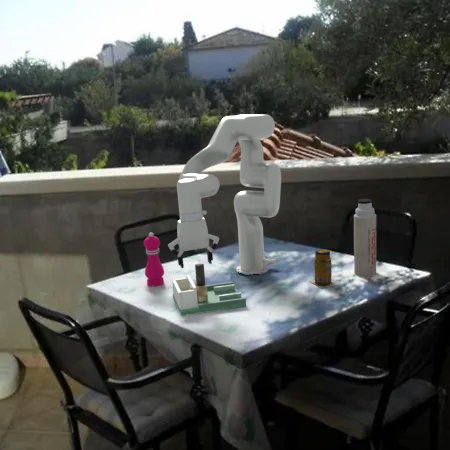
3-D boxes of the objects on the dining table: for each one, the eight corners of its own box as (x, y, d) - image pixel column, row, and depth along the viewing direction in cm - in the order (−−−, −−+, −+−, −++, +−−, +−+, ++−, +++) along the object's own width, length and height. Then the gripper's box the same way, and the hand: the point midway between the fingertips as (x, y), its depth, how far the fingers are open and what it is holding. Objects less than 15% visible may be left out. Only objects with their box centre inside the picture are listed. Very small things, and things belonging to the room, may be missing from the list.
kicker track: (234, 289, 224) (234, 284, 223) (241, 298, 215) (241, 293, 214) (213, 292, 222) (213, 287, 222) (219, 301, 213) (219, 296, 213)
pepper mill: (162, 286, 235) (157, 234, 230) (143, 286, 236) (138, 235, 231) (167, 280, 242) (163, 229, 237) (149, 280, 243) (144, 229, 238)
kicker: (204, 294, 220) (202, 261, 217) (207, 300, 214) (205, 266, 211) (195, 295, 219) (193, 262, 216) (199, 301, 213) (196, 268, 210)
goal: (190, 293, 223) (188, 274, 221) (197, 307, 209) (196, 287, 208) (173, 295, 221) (171, 276, 220) (179, 309, 208) (178, 289, 206)
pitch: (233, 288, 228) (232, 281, 227) (246, 306, 211) (245, 298, 210) (172, 297, 224) (172, 289, 223) (181, 315, 207) (180, 307, 206)
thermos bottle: (380, 273, 234) (380, 199, 227) (363, 278, 231) (363, 203, 224) (366, 268, 241) (366, 196, 234) (349, 272, 237) (349, 199, 231)
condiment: (327, 278, 233) (326, 247, 230) (338, 285, 226) (338, 252, 223) (309, 281, 231) (308, 250, 228) (320, 288, 223) (319, 256, 220)
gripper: (214, 209, 214) (218, 257, 219) (163, 216, 211) (169, 265, 216) (219, 215, 207) (223, 264, 212) (167, 222, 204) (172, 272, 208)
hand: (195, 264), depth 214 cm, fingers open, 9 cm apart
